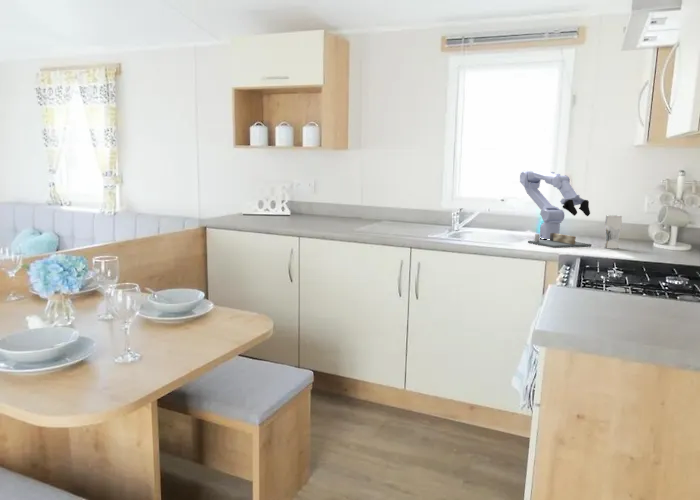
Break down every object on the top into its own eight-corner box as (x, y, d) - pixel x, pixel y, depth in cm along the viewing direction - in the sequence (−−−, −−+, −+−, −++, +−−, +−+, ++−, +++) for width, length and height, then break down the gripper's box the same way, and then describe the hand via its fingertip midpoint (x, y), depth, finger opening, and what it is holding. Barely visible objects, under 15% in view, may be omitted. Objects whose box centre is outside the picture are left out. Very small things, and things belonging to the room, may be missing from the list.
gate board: (527, 242, 268) (528, 232, 268) (564, 241, 276) (564, 232, 275) (553, 247, 252) (554, 237, 251) (591, 246, 259) (592, 236, 259)
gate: (548, 240, 270) (549, 232, 270) (552, 239, 271) (553, 232, 271) (571, 244, 256) (572, 236, 255) (575, 244, 257) (576, 236, 256)
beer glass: (610, 249, 250) (613, 216, 248) (599, 247, 257) (602, 215, 255) (622, 249, 252) (625, 216, 250) (612, 247, 259) (614, 215, 257)
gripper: (561, 187, 263) (574, 207, 255) (585, 189, 268) (599, 209, 260) (553, 198, 268) (566, 218, 260) (577, 199, 273) (590, 219, 265)
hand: (582, 214), depth 260 cm, fingers open, 7 cm apart
